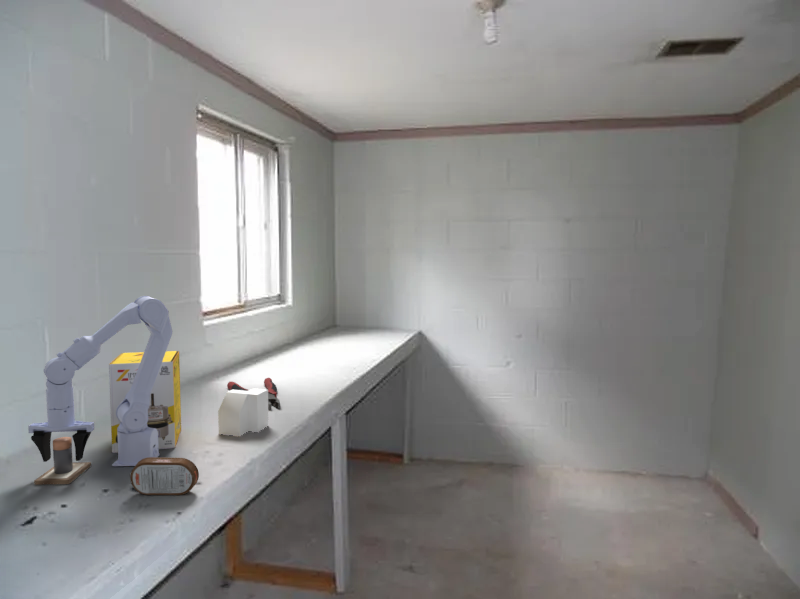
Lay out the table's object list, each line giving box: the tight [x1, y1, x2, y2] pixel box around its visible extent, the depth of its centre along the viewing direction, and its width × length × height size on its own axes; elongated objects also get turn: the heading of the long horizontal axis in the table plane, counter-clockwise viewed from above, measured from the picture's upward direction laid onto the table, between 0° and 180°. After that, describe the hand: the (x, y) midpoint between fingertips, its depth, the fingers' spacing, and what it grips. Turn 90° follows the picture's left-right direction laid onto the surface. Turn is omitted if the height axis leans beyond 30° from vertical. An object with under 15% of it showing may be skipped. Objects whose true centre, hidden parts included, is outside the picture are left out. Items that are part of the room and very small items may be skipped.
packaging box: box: [108, 350, 182, 454], centre depth 161 cm, size 16×16×25 cm
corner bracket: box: [217, 387, 269, 437], centre depth 172 cm, size 11×11×12 cm
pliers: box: [226, 377, 281, 411], centre depth 211 cm, size 37×18×3 cm, turn 29°
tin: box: [129, 456, 200, 496], centre depth 128 cm, size 15×3×8 cm, turn 92°
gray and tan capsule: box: [52, 436, 73, 474], centre depth 137 cm, size 4×4×8 cm
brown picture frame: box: [33, 461, 92, 486], centre depth 138 cm, size 8×11×1 cm
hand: (63, 459), depth 138 cm, fingers open, 7 cm apart
